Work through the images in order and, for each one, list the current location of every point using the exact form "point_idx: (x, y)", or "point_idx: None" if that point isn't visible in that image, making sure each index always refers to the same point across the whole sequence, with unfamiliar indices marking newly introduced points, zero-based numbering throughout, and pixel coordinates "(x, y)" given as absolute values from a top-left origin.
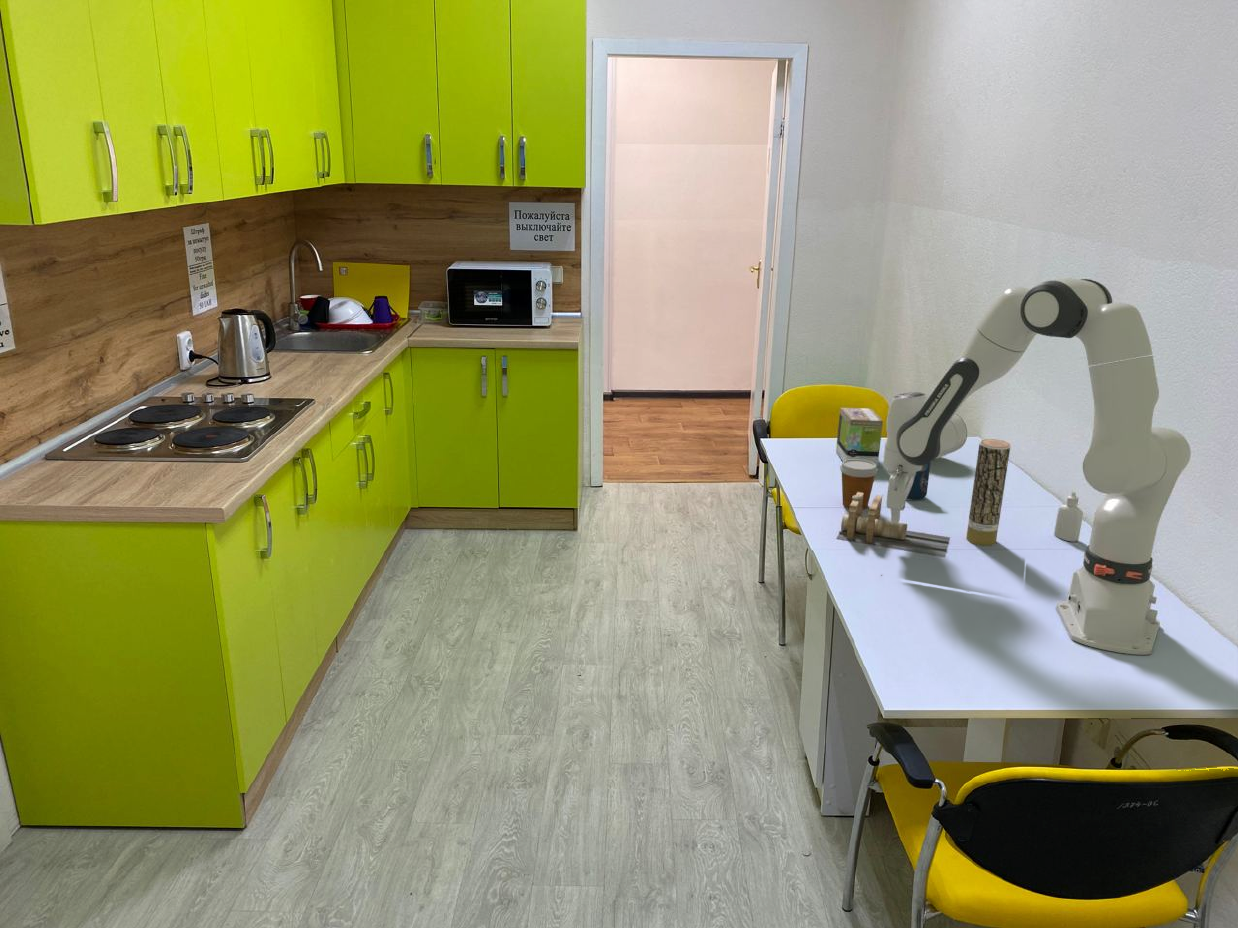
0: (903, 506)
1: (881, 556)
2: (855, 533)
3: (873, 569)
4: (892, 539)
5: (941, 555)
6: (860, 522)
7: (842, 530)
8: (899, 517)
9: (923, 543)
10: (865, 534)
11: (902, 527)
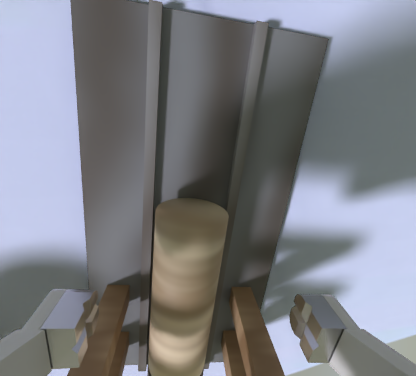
0: (85, 312)
1: (326, 249)
2: None
3: (412, 258)
4: None
5: (315, 53)
6: (201, 367)
7: None
8: (334, 315)
9: (203, 128)
10: None
11: (218, 240)
